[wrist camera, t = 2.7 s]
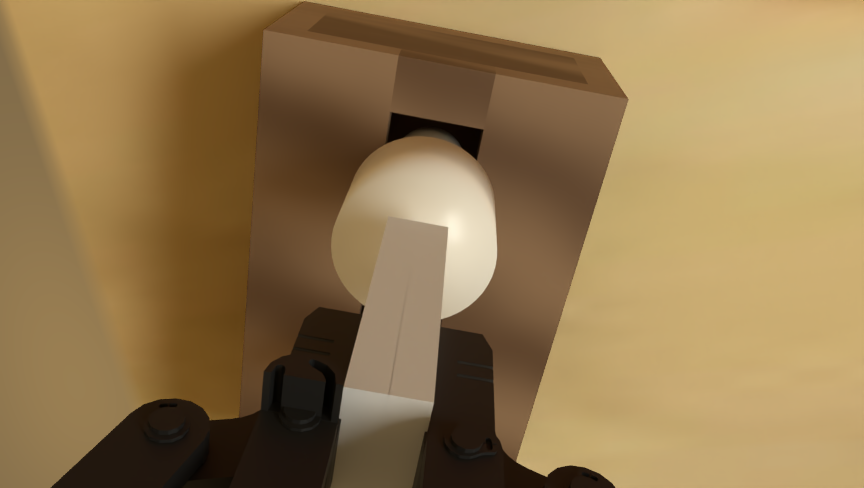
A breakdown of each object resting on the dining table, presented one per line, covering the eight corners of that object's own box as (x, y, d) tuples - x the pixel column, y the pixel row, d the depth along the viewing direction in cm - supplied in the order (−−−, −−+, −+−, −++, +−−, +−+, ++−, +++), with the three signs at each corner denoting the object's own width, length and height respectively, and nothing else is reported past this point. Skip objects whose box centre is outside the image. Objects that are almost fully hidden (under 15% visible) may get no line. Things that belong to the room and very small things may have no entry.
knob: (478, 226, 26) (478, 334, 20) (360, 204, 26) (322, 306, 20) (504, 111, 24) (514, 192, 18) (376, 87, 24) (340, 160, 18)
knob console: (486, 459, 38) (487, 552, 33) (267, 421, 38) (233, 509, 33) (600, 57, 28) (628, 99, 23) (304, 1, 28) (263, 29, 23)
